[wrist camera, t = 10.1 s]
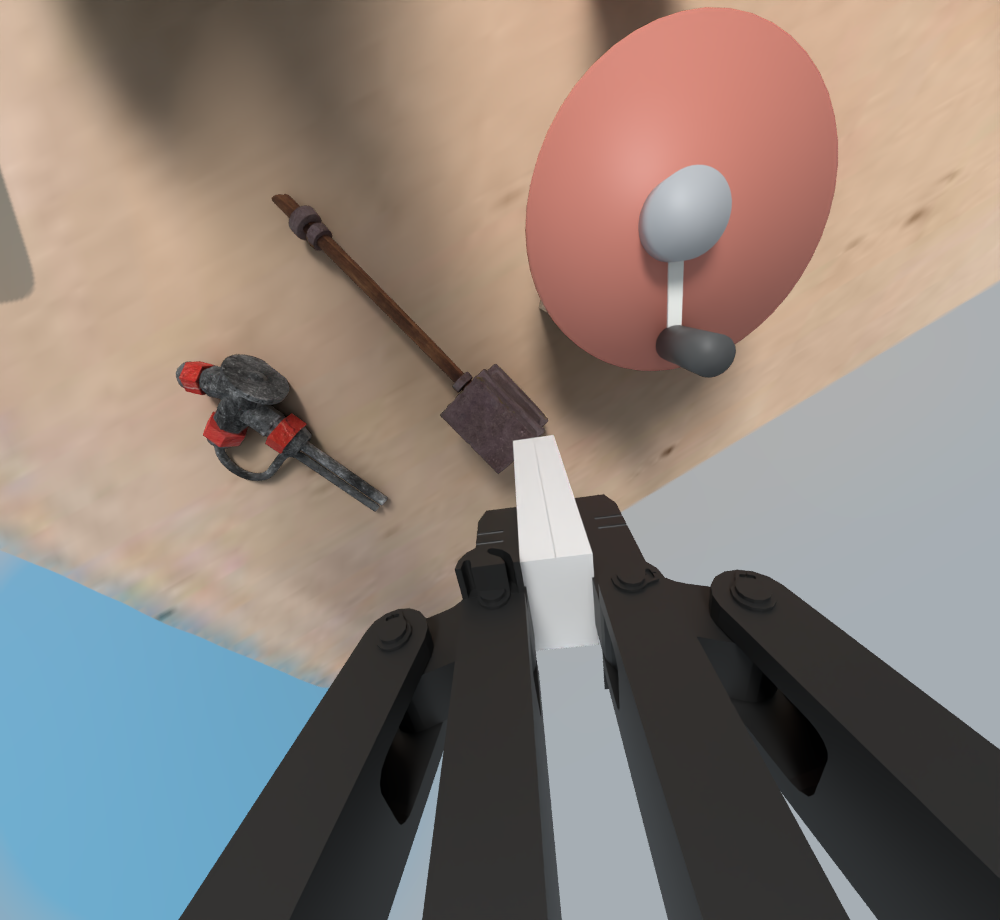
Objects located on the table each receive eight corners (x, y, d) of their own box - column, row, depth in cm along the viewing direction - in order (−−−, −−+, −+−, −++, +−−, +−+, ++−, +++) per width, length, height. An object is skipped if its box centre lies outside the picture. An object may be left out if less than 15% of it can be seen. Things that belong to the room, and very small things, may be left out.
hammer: (509, 455, 44) (495, 484, 35) (304, 247, 41) (228, 217, 32) (550, 416, 42) (547, 436, 33) (338, 194, 39) (267, 145, 30)
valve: (177, 409, 46) (221, 321, 40) (352, 525, 55) (412, 468, 48) (131, 434, 41) (172, 337, 34) (333, 557, 50) (397, 499, 43)
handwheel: (504, 89, 25) (504, -27, 16) (813, 17, 24) (1013, -158, 14) (540, 377, 34) (553, 412, 24) (770, 339, 32) (879, 361, 23)
